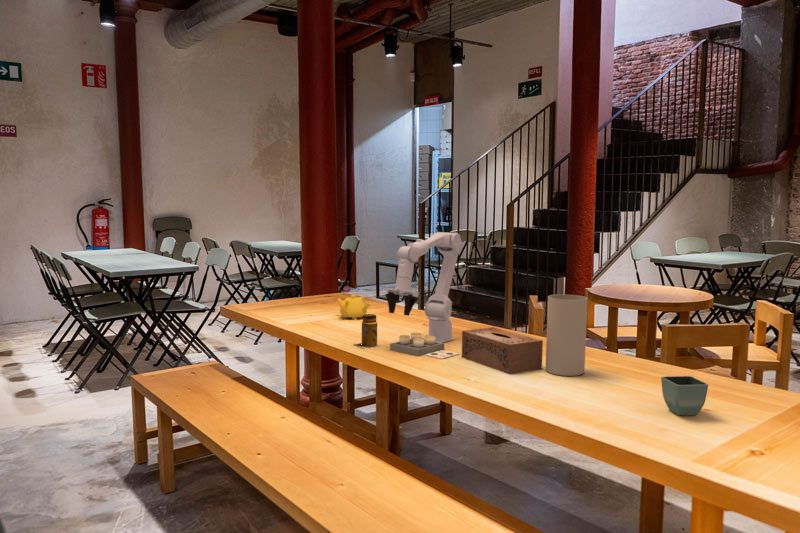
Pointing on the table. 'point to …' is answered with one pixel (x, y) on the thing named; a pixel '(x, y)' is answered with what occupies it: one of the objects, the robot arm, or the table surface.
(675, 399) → the flower pot
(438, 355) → the card
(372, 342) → the condiment
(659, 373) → the table surface
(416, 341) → the button
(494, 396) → the table surface
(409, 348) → the board
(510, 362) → the tissue box cover
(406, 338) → the button
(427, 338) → the button
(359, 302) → the teapot
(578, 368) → the cylinder vase
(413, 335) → the button
